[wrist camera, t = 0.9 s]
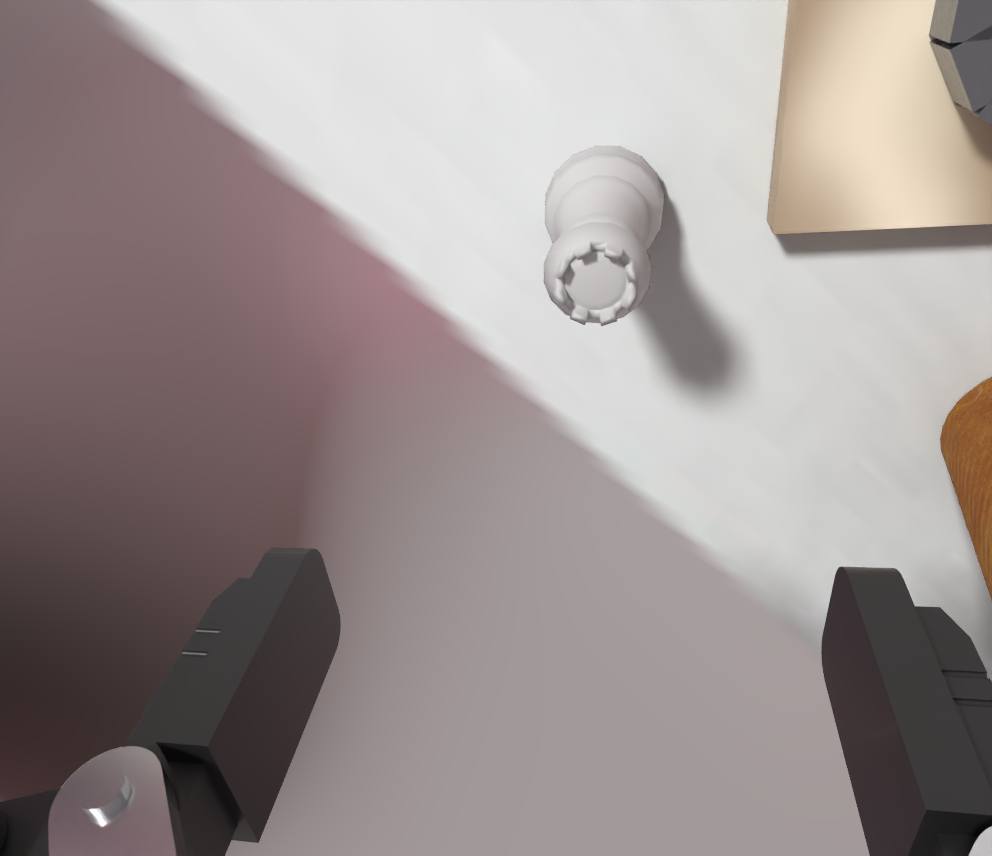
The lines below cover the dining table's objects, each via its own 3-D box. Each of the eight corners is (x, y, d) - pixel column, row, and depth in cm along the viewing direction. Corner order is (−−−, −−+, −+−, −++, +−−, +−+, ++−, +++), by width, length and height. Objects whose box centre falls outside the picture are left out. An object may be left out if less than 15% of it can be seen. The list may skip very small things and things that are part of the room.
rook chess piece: (689, 188, 27) (707, 272, 21) (614, 279, 30) (609, 379, 23) (592, 115, 27) (579, 179, 20) (523, 216, 29) (491, 301, 22)
